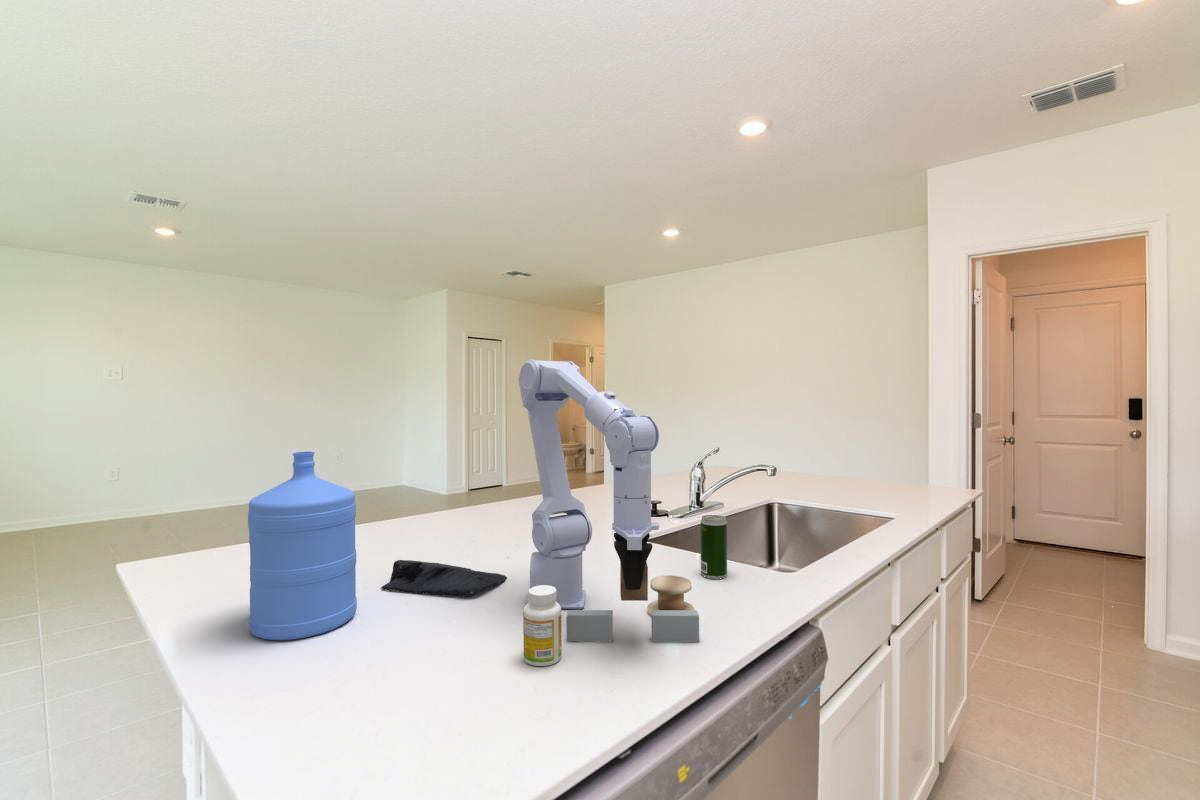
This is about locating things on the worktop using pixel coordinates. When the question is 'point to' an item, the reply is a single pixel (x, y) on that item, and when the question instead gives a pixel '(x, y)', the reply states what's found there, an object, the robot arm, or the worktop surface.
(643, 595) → the block
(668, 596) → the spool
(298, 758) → the worktop surface
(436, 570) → the dark slate chunk
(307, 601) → the water jug
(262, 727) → the worktop surface
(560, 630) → the supplement bottle
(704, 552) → the beer can
